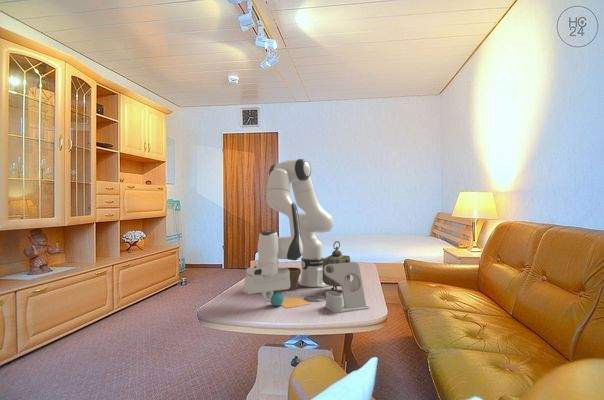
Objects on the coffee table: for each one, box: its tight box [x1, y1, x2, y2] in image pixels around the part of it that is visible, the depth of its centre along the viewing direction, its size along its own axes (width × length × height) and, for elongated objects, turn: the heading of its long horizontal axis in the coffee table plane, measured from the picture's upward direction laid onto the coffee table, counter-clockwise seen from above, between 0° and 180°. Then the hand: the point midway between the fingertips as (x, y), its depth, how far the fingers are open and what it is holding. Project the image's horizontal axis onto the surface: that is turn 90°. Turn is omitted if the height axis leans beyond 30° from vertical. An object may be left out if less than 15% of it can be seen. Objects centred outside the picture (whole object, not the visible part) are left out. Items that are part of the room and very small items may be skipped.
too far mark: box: [303, 294, 326, 303], centre depth 152 cm, size 10×10×1 cm
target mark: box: [280, 296, 311, 309], centre depth 146 cm, size 12×12×1 cm
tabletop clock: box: [322, 240, 351, 293], centre depth 165 cm, size 14×9×25 cm, turn 148°
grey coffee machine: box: [324, 261, 371, 314], centre depth 139 cm, size 17×10×18 cm, turn 110°
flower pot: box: [285, 266, 302, 291], centre depth 171 cm, size 12×11×10 cm
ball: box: [269, 290, 285, 307], centre depth 142 cm, size 6×6×6 cm
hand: (267, 301), depth 140 cm, fingers closed
